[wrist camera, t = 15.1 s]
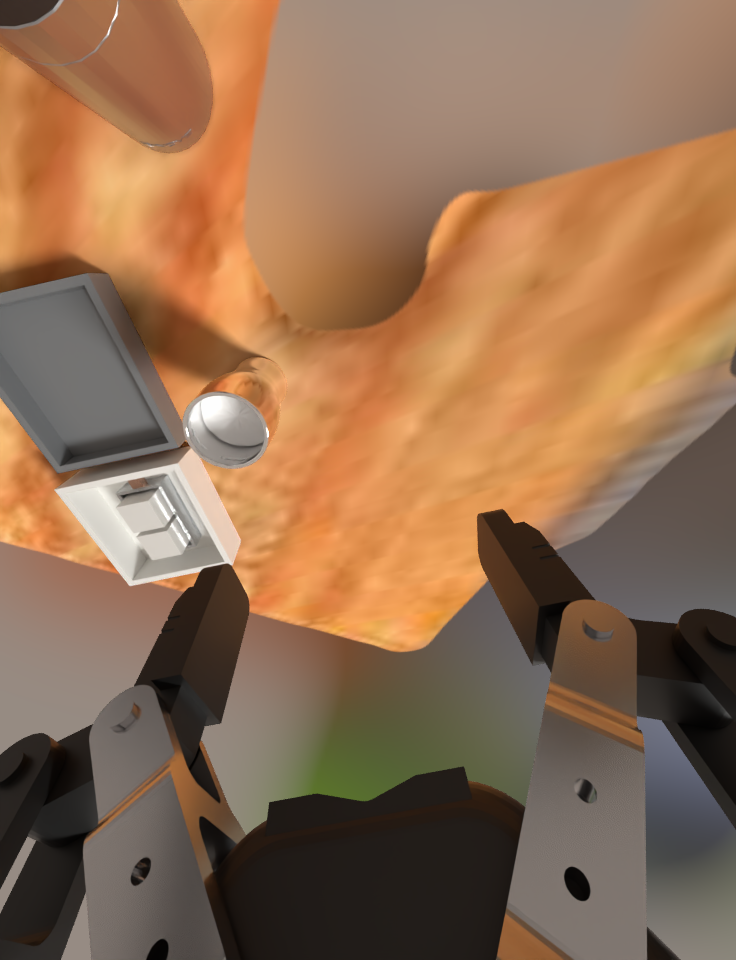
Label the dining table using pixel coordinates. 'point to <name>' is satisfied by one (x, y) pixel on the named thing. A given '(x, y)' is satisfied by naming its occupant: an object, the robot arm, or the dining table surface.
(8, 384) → the tray
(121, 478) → the bin
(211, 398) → the silver metal goblet
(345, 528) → the dining table surface
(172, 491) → the scoop
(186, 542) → the off-white cube
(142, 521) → the light grey cube block
